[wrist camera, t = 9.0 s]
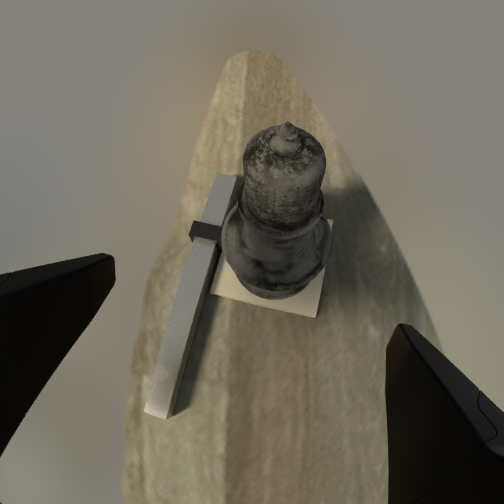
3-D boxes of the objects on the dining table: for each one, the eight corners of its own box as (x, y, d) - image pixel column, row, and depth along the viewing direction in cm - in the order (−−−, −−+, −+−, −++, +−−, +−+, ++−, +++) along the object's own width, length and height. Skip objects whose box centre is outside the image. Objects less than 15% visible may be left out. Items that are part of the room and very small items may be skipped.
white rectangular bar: (176, 417, 17) (167, 422, 15) (147, 407, 17) (136, 411, 16) (241, 188, 22) (240, 173, 21) (216, 183, 23) (212, 168, 21)
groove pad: (314, 318, 19) (315, 316, 19) (210, 293, 20) (209, 292, 19) (331, 222, 21) (333, 220, 21) (238, 202, 22) (237, 199, 22)
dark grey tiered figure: (319, 308, 19) (395, 219, 8) (222, 300, 19) (169, 202, 8) (321, 220, 21) (369, 77, 10) (233, 213, 21) (208, 65, 10)
